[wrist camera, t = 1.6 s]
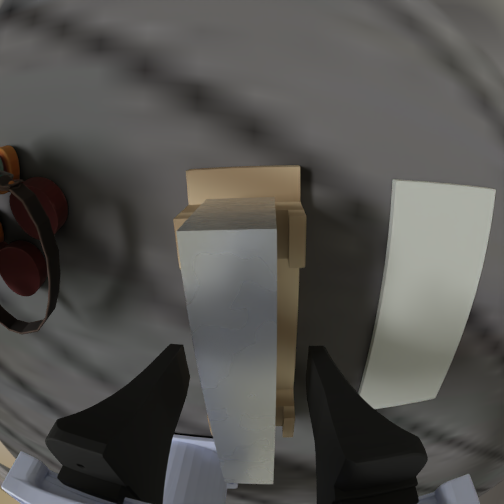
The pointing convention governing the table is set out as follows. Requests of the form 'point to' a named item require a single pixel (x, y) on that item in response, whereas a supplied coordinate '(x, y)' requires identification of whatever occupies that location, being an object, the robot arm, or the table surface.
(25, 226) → the binoculars
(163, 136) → the table surface
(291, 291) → the rack
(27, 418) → the table surface
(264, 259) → the rail
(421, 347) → the mat
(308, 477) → the table surface
